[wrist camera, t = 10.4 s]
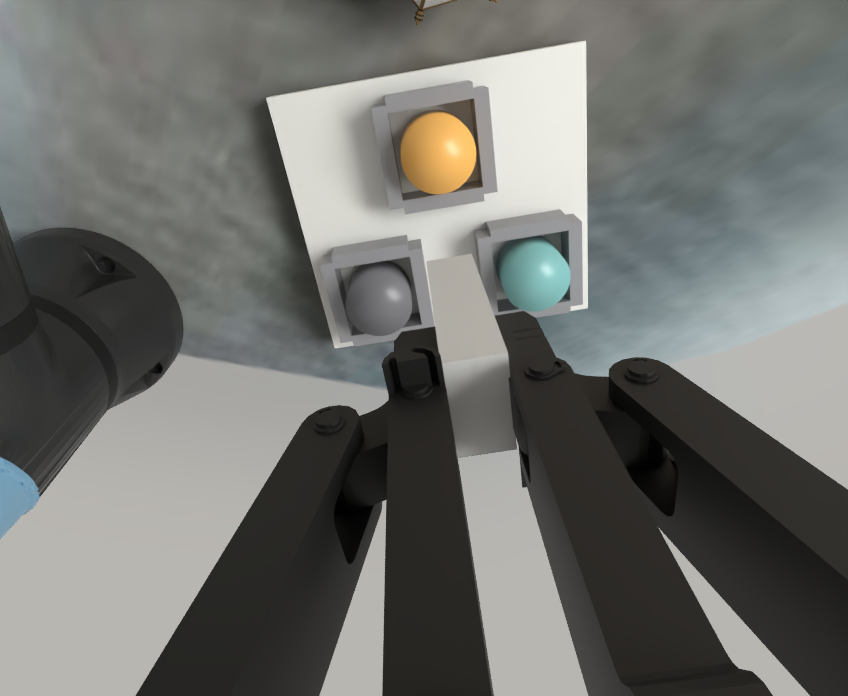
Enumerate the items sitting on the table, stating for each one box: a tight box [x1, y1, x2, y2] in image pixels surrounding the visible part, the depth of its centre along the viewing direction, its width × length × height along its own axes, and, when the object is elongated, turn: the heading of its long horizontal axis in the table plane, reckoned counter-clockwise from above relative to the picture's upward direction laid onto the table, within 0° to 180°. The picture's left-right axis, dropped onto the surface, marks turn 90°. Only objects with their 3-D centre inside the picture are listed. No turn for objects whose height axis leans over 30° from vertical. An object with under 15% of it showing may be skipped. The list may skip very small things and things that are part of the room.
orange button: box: [400, 110, 476, 194], centre depth 37 cm, size 5×5×4 cm
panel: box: [266, 41, 588, 348], centre depth 41 cm, size 22×20×4 cm
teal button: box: [496, 235, 571, 312], centre depth 41 cm, size 5×5×4 cm
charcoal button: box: [345, 260, 412, 336], centre depth 42 cm, size 5×5×4 cm
